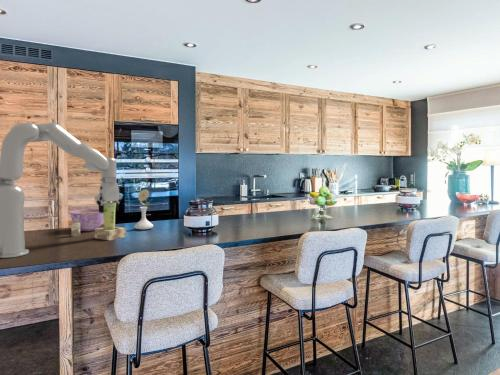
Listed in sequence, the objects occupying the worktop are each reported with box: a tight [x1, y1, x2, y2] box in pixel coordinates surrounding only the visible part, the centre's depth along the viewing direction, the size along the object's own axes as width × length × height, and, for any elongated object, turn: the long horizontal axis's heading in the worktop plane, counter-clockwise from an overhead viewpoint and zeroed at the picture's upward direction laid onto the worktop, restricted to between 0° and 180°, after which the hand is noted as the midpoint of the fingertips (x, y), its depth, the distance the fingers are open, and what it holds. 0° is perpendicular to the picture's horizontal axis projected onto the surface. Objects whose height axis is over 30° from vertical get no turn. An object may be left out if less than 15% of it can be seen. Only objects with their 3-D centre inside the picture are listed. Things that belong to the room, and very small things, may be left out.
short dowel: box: [70, 222, 81, 238], centre depth 200 cm, size 4×4×7 cm
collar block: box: [94, 226, 127, 241], centre depth 196 cm, size 11×12×5 cm
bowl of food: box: [69, 208, 104, 232], centre depth 218 cm, size 20×20×12 cm
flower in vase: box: [133, 189, 154, 230], centre depth 220 cm, size 13×11×25 cm
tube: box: [103, 201, 116, 230], centre depth 195 cm, size 6×5×20 cm
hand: (108, 211), depth 195 cm, fingers open, 9 cm apart
